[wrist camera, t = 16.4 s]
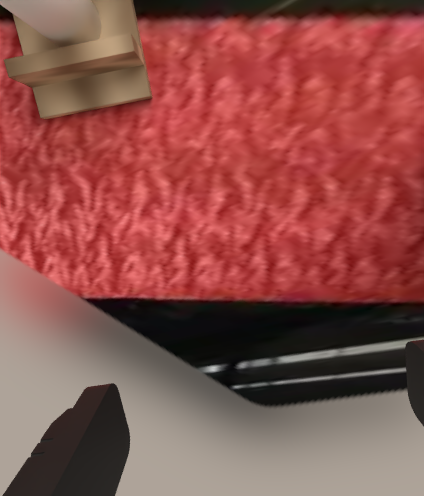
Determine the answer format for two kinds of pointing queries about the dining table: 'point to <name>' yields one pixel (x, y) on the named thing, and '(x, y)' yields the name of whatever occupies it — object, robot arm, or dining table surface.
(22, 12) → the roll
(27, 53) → the stand
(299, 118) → the dining table surface
